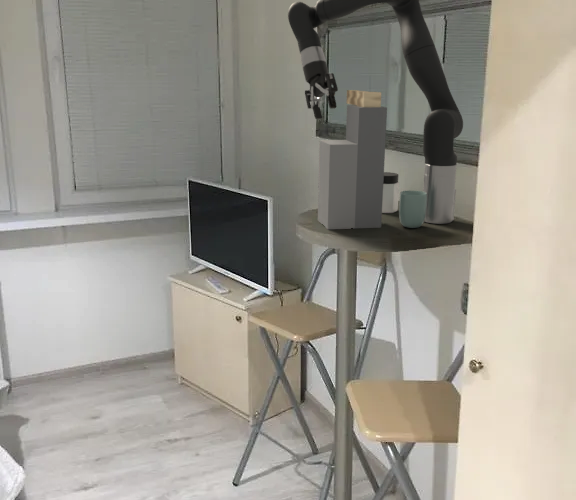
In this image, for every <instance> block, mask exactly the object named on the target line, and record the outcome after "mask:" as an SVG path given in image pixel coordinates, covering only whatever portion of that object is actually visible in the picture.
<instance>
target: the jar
mask: <svg viewBox="0 0 576 500" xmlns="http://www.w3.org/2000/svg"><path fill="white" fill-rule="evenodd" d="M399 198H400V182H399V173H396V172H388V171H386V172H385V171H384V181H383V201H382V214H394V213H395V212H397V211H399Z"/></svg>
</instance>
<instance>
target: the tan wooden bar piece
mask: <svg viewBox="0 0 576 500" xmlns="http://www.w3.org/2000/svg"><path fill="white" fill-rule="evenodd" d="M346 104H347V105H357V106H359V107H382V106H381V105H382V92H380V91H367V90H357V89H348V90H347V89H346Z"/></svg>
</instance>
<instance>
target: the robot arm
mask: <svg viewBox="0 0 576 500" xmlns="http://www.w3.org/2000/svg"><path fill="white" fill-rule="evenodd" d="M377 4H378V5H379V4H388V5H390V6H391V8H392V9H393V12H394V13H395V17H396V18H397V22H398V24H399V27H400V36H401V49H402V54H403V58H404V61H405V63H406V66H407V69H408V72H409V73H410V76H411V77H412V79H413V81H414V82H415V83H416V85H417V86H418V87H419V89H420V90H421V92H422V93H423V94H424V97H425V98H426V100H427V102H428V106H429V108H430V112H429V114H427V116H426V118H425V119H424V120H425V121H424V124H423V135H422V136H423V137H422V139H423V141H422V143H423V145H422V146H423V147H422V152H423V156H424V169H423V183H422V184H423V186H422V192H426V193H427V207H426V215H425V220H424V222H423V223H430V224H436V225H437V224H439V225H440V224H441V225H442V224H451V223H452V222H453V221H454V220H455V209H456V208H455V207H456V198H457V196H456V195H457V194H456V193H457V189H456V179H457V177H456V176H457V164H458V156H457V154H456V153H455V150H454V139H455V140H456V139H457V138H459V136H460V135H461V134H462V132H463V128H464V120H463V117H462V113H461V111H460V110H459V108H458V105H457V103H456V101H455V99H454V97H453V95H452V92H451V90H450V87H449V84H448V81H447V78H446V75H445V72H444V70H443V69H444V68H443V65H442V64H441V60H440V57H439V54H438V51H437V48H436V45H435V42H434V41H433V38H432V35H431V32H430V29H429V27H428V25H427V23H426V20H425V18H424V16H423V11H422V8H421V5H420V0H317V1H316V4H315V5H314V6H310V5H308V4H306V3H304V2H303V1H294V2H293V3H292V4H291V5H290V6H289V8H288V12H287V18H288V23H289V25H290V28H291V30H292V33H293V35H294V37H295V39H296V41H297V45H298V50H299V54H300V63H301V66H302V71H303V75H304V79H305V82H306V83H308V85H309V89H307V90H304V95H305V101H306V106H307V109H310V110H311V109H312V111H313V115H314V118H315V120H321V119H322V118H323V116H322V111H321V107H320V104H321V101H322V99H323V97H324V95H325V96H326V99H327V104H328V107H329V109H331V110H333V109H334V110H335V109H336V108H338V107H337V101H336V97H335V96H336V92H338V90H339V87H338V84H337V81H336V78H335V75H334V73H333V72H332V73H331V72H329V69H328V64H327V61H326V56H325V54H324V51H323V48H322V43H321V39H320V35H319V33H318V32H317V31H316V30H315V29H316V28H318V27H319V26H322V25H323V24H325V23H326V22H328V21H333V20H335V19H339V18H343V17H346V16H348V15H352V14H353V13H355V12H356V11H358V10H361V8H364V7H368V6H373V5H377Z"/></svg>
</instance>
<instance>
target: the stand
mask: <svg viewBox="0 0 576 500" xmlns="http://www.w3.org/2000/svg"><path fill="white" fill-rule="evenodd" d="M387 117H388V107H385V106H381V107H359V106H357V105H352V104H347V105H346V124H345V126H346V127H345V139H319V141H318V142H319V148H318V187H317V188H318V190H317V193H318V194H317V222H319V223H320V224H321V225H322V224H323V225H324V226H325V227H324V226H323V225H322V226H323V227H324V228H325V229H327V230H345V229H348V230H349V229H350V230H351V228H353V229H375V228H377V229H379V228H382V219H383V218H382V216H383V213H382V201H383V181H384V172H385V160H386V159H385V157H386V156H385V155H386V154H385V153H386V138H387V136H386V135H387V133H386V132H387Z"/></svg>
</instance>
